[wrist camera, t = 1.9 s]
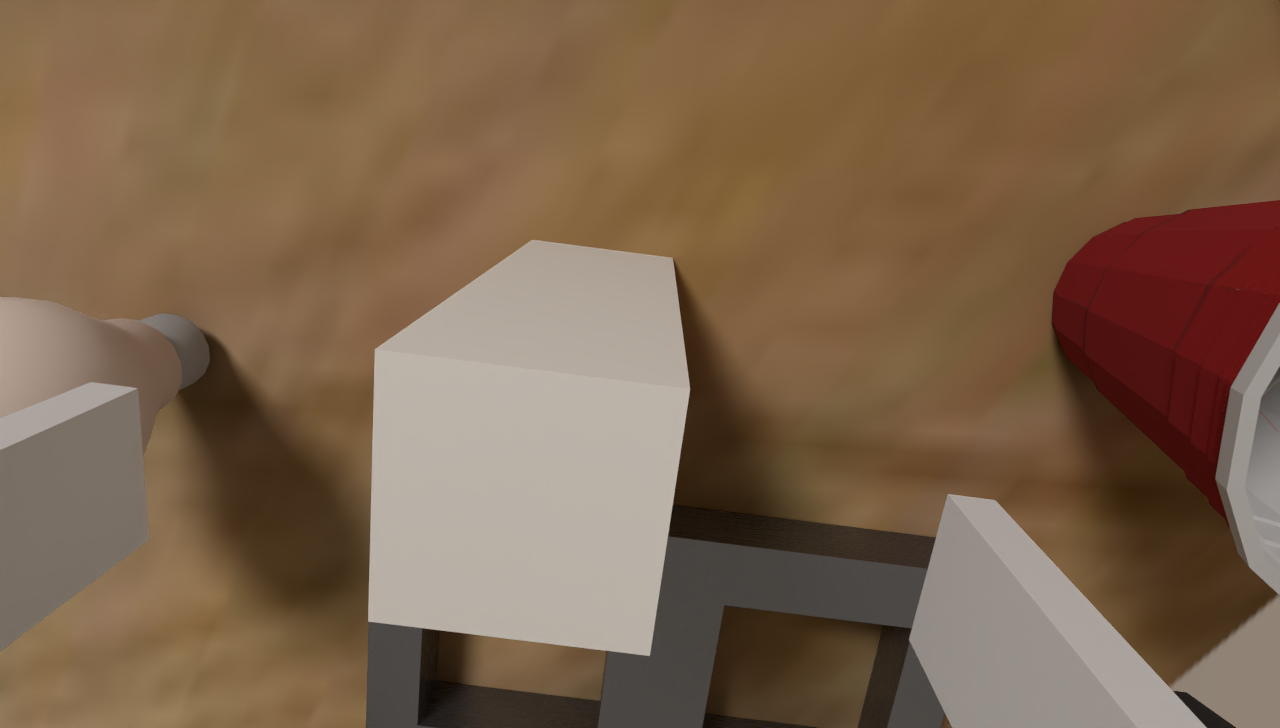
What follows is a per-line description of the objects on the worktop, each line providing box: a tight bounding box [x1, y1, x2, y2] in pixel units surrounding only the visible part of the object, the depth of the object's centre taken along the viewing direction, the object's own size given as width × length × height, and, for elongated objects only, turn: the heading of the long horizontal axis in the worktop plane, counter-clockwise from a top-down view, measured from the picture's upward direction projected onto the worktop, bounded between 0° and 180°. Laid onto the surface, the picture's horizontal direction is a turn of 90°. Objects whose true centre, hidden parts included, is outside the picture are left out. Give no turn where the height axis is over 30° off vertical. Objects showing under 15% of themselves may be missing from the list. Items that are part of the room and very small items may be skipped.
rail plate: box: [366, 505, 945, 728], centre depth 29 cm, size 22×12×2 cm, turn 83°
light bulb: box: [0, 297, 210, 456], centre depth 22 cm, size 7×7×11 cm
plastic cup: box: [1052, 200, 1280, 595], centre depth 20 cm, size 11×11×12 cm
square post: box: [368, 240, 690, 656], centre depth 20 cm, size 5×5×15 cm
